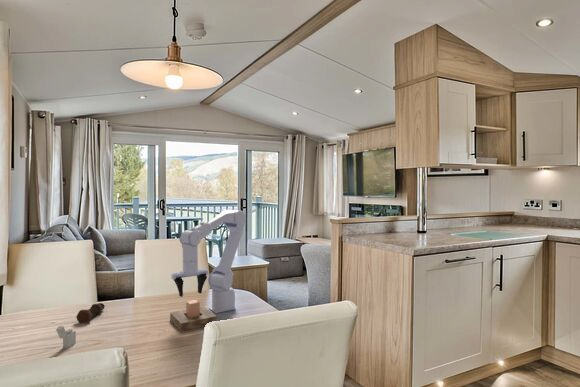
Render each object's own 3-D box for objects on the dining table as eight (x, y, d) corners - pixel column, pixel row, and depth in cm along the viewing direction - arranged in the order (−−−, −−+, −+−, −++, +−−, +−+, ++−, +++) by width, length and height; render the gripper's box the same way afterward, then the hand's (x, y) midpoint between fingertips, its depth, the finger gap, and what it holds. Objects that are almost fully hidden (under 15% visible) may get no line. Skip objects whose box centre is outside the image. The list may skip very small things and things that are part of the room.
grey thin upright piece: (71, 342, 127) (71, 319, 127) (76, 342, 127) (75, 319, 127) (56, 351, 120) (55, 327, 120) (60, 352, 120) (60, 327, 120)
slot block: (203, 313, 156) (203, 306, 156) (216, 323, 145) (216, 316, 144) (170, 320, 148) (170, 312, 148) (181, 331, 137) (181, 323, 137)
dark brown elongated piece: (103, 314, 160) (85, 326, 145) (92, 309, 160) (73, 320, 145) (109, 303, 160) (92, 313, 145) (99, 297, 160) (81, 307, 145)
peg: (196, 319, 149) (196, 299, 149) (199, 322, 146) (199, 302, 146) (186, 321, 147) (186, 301, 147) (189, 324, 144) (189, 304, 144)
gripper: (203, 257, 155) (203, 289, 155) (168, 261, 147) (169, 295, 147) (210, 259, 149) (210, 293, 150) (174, 264, 141) (174, 299, 141)
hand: (190, 294), depth 148 cm, fingers open, 7 cm apart
